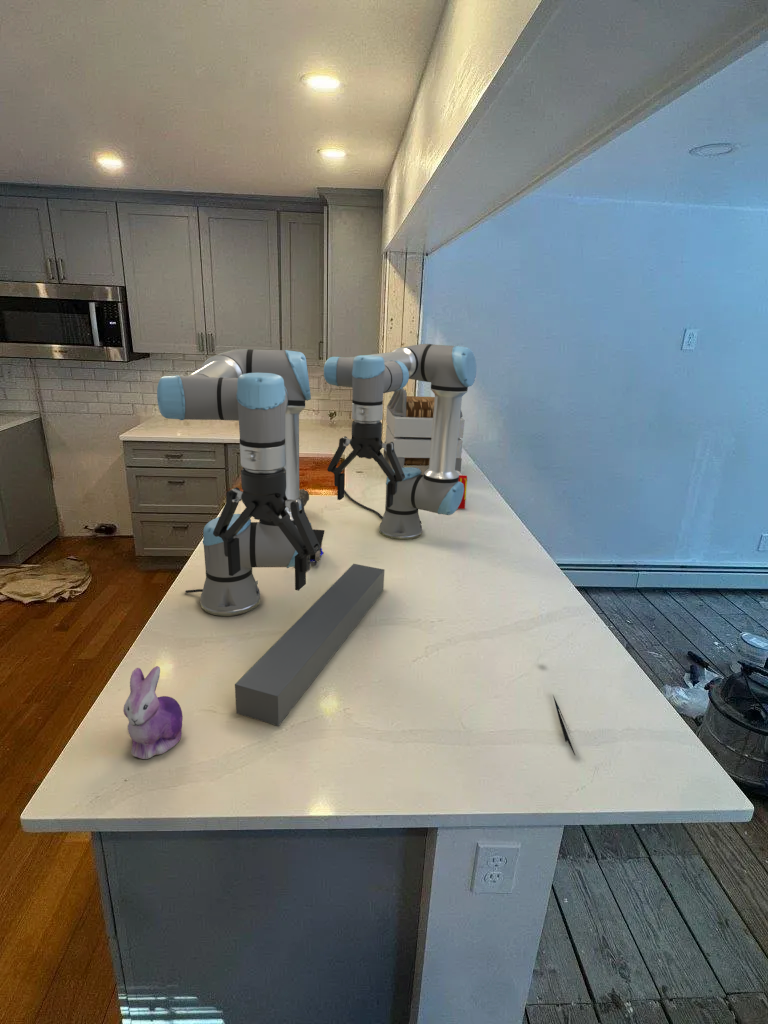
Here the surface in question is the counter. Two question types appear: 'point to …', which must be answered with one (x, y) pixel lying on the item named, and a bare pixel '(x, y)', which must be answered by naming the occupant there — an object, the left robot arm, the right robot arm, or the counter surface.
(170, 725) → the figurine
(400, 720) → the counter surface
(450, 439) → the right robot arm
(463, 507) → the red tall box
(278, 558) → the left robot arm
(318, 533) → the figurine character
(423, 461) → the white slatted crate
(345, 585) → the thick board
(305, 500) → the fossil
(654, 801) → the counter surface
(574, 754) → the feather
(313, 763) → the counter surface
